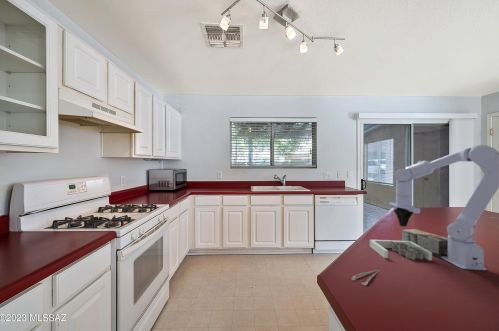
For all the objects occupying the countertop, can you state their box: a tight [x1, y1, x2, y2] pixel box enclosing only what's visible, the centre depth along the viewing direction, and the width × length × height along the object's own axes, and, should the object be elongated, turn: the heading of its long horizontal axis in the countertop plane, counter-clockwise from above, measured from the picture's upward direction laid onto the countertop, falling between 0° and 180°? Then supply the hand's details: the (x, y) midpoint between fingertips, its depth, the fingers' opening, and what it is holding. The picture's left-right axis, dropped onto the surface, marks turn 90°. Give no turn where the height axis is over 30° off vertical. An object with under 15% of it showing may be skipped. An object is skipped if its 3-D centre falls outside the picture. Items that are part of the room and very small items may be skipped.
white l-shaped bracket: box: [368, 239, 433, 261], centre depth 88 cm, size 12×17×3 cm
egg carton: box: [391, 240, 426, 260], centre depth 87 cm, size 11×8×4 cm
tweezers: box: [351, 269, 380, 286], centre depth 70 cm, size 18×5×2 cm, turn 125°
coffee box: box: [401, 228, 448, 258], centre depth 92 cm, size 9×6×16 cm
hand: (403, 226), depth 94 cm, fingers closed
